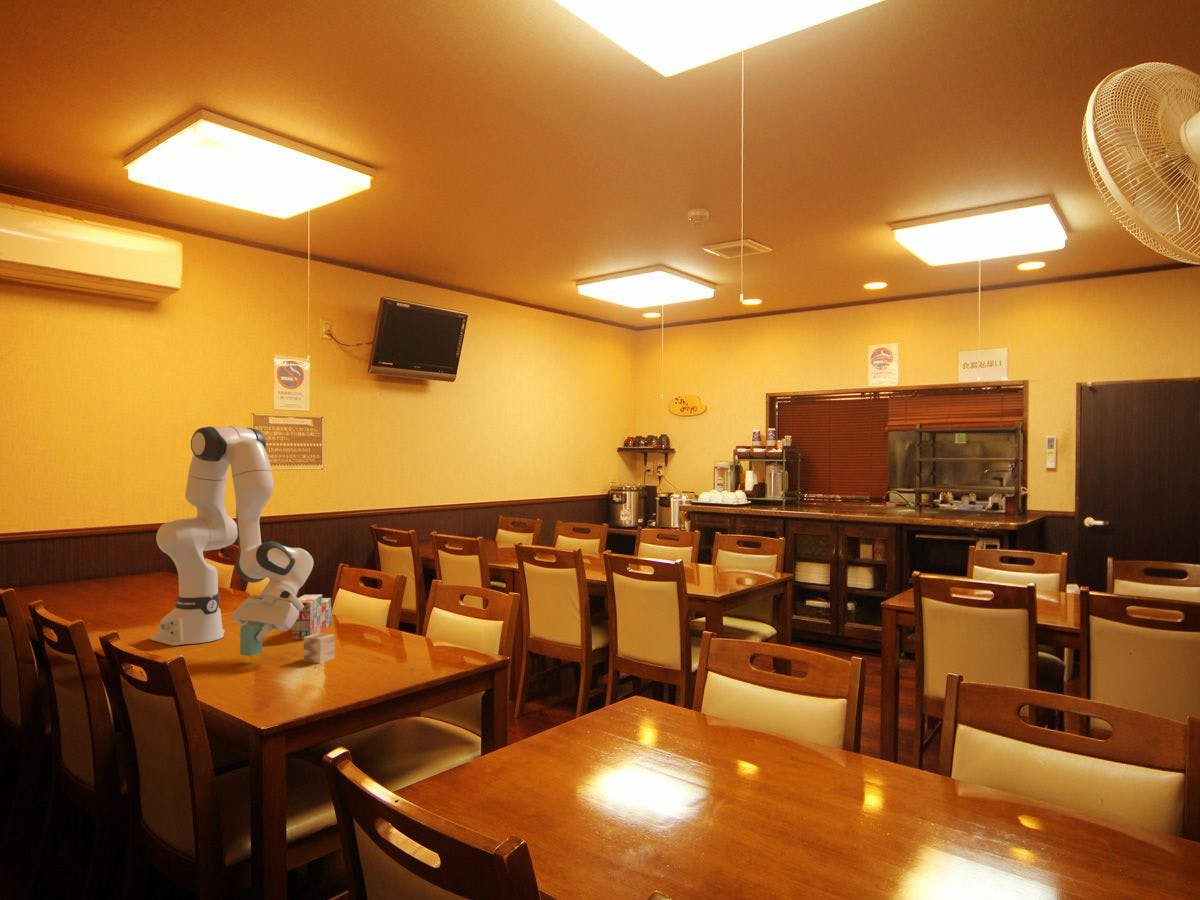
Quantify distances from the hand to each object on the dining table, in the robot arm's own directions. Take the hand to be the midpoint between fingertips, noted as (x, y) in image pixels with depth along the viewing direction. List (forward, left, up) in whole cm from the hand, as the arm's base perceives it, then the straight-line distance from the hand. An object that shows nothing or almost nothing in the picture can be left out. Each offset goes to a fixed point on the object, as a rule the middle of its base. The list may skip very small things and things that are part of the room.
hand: (249, 638), depth 214 cm
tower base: (+16, +10, -7) cm, 20 cm away
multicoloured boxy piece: (-11, +36, -7) cm, 38 cm away
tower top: (+16, +10, -4) cm, 19 cm away
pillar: (0, +1, -4) cm, 4 cm away
